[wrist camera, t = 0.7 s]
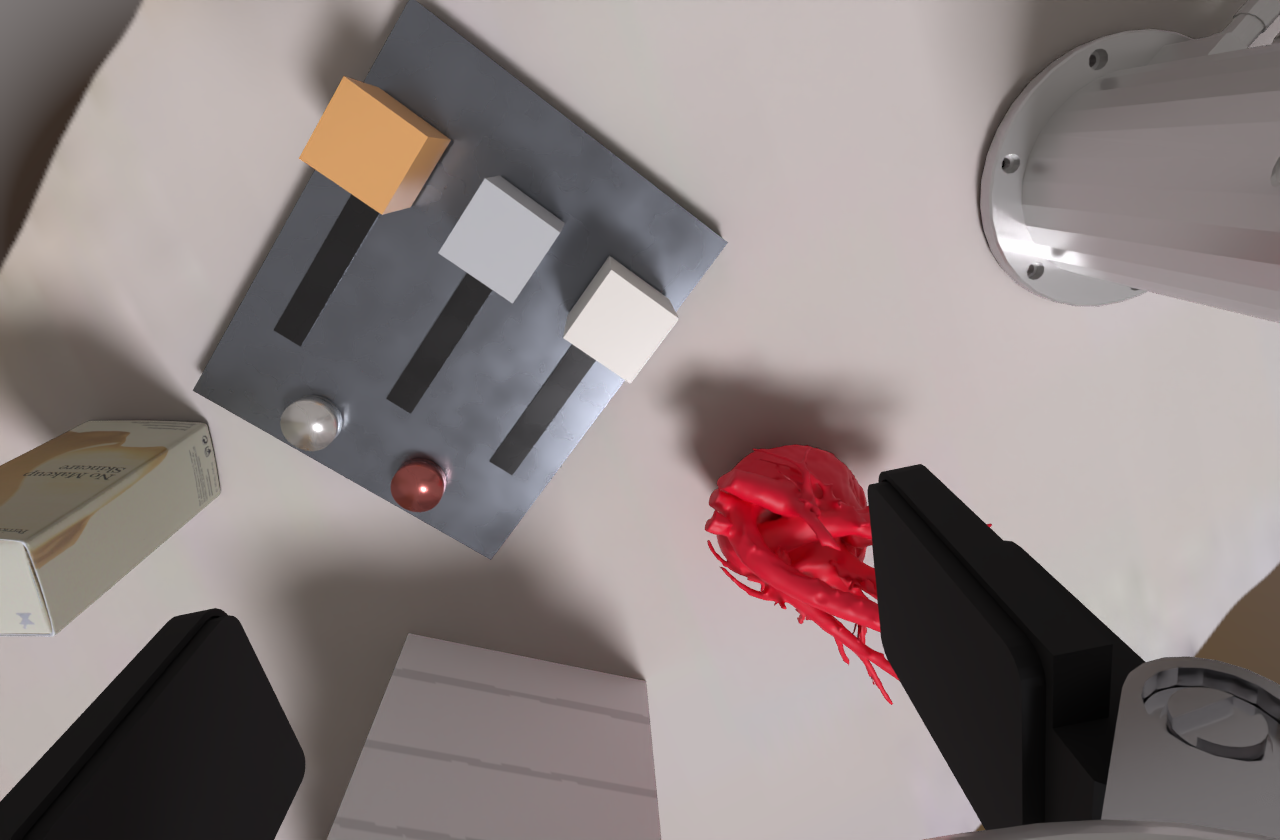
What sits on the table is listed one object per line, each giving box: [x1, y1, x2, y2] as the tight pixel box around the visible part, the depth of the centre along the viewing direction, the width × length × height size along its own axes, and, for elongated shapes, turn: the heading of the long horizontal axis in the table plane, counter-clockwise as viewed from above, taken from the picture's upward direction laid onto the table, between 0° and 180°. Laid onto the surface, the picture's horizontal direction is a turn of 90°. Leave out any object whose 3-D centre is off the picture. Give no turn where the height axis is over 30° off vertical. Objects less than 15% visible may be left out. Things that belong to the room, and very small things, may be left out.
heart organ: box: [705, 444, 992, 705], centre depth 34 cm, size 10×12×12 cm
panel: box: [193, 0, 728, 560], centre depth 34 cm, size 21×17×2 cm
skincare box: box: [0, 420, 220, 637], centre depth 31 cm, size 6×4×12 cm
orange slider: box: [299, 76, 451, 215], centre depth 29 cm, size 4×4×4 cm
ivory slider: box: [563, 256, 679, 384], centre depth 32 cm, size 4×4×4 cm
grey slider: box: [438, 176, 565, 304], centre depth 30 cm, size 4×4×4 cm
